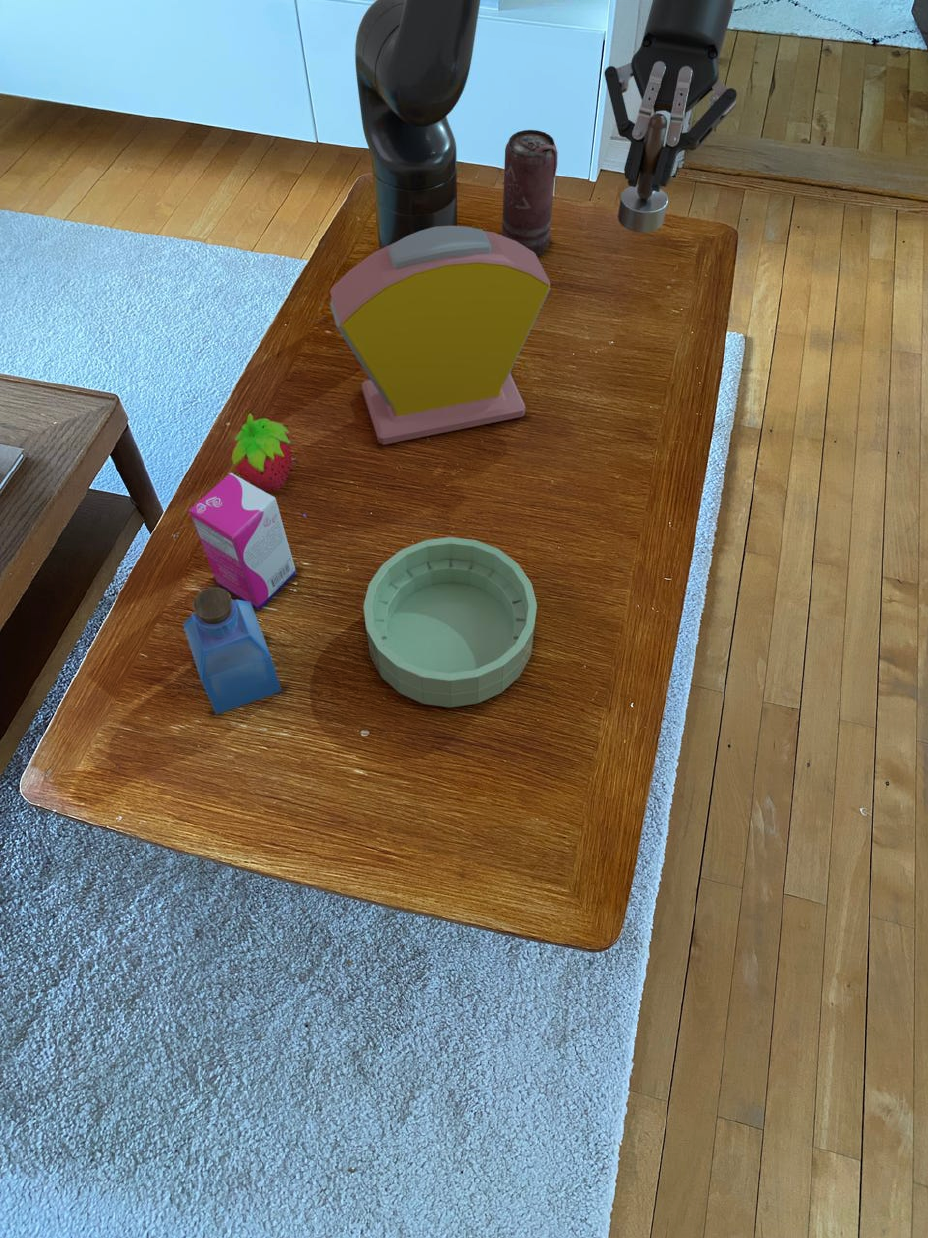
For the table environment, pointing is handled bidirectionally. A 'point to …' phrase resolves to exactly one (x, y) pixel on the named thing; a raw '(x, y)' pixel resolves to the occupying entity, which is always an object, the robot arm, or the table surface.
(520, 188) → the can
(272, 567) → the supplement box
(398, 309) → the pink and yellow fan
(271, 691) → the perfume bottle
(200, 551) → the table surface
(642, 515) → the table surface
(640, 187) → the peg on round base
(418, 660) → the bowl
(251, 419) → the strawberry
